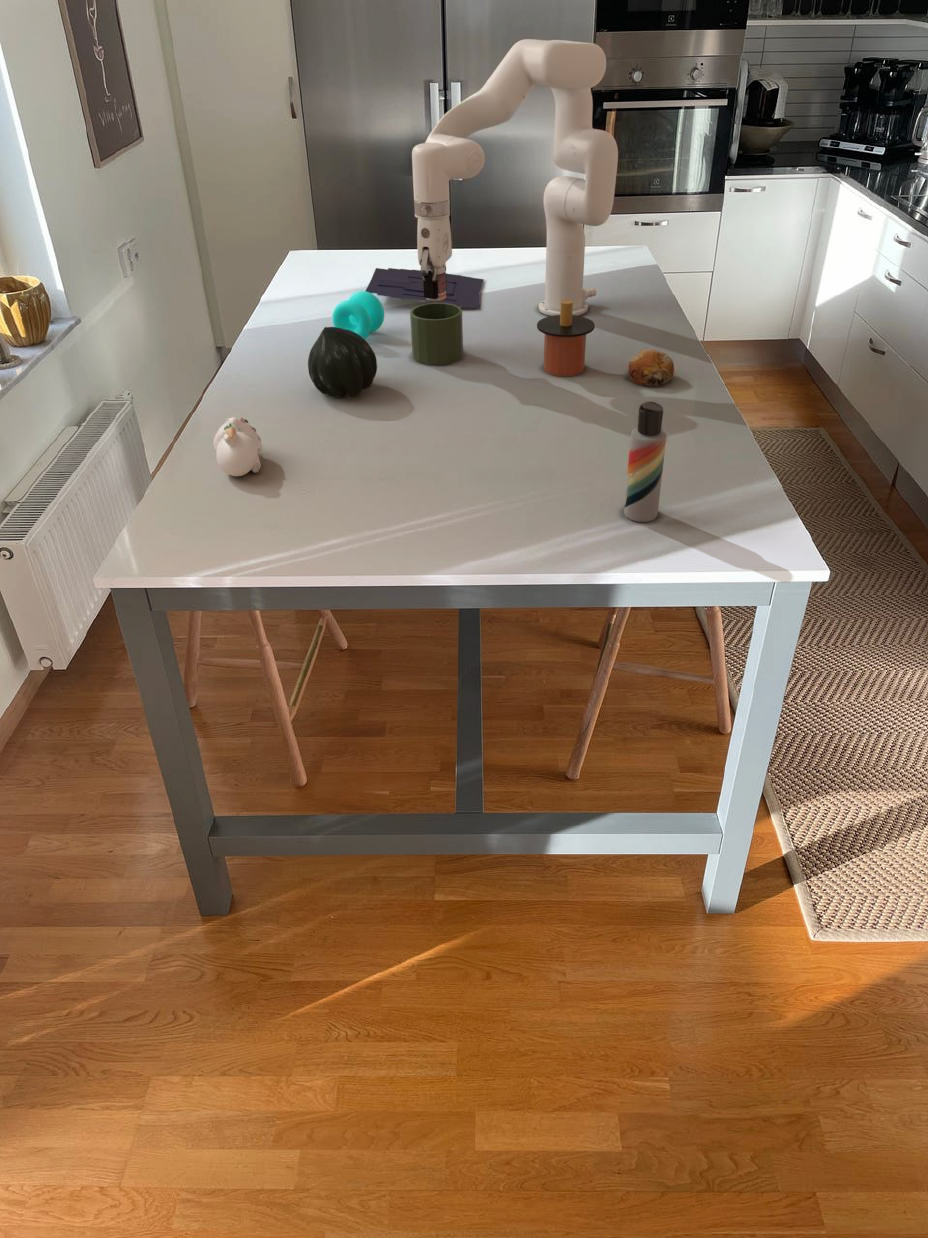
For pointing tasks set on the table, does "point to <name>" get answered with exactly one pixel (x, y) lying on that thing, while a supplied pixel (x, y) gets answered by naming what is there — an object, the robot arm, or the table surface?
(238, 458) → the white bird figurine
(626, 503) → the lotion bottle
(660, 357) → the bread roll
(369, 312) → the donuts
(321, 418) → the table surface
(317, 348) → the squash
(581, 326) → the lid
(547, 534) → the table surface
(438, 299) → the pill bottle
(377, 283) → the papers
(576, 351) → the cup
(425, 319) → the pot
